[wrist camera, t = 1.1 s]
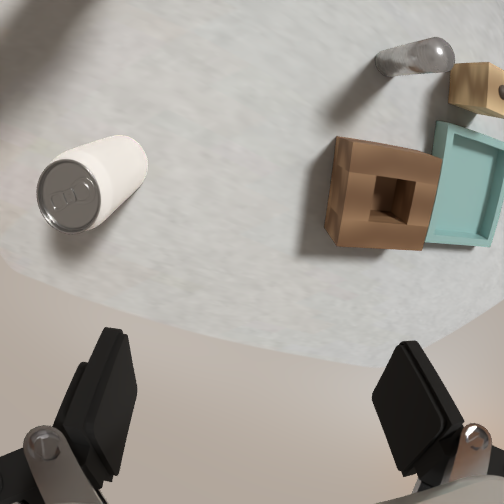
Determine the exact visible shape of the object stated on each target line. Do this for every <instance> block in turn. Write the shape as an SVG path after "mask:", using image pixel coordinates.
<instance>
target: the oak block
mask: <svg viewBox="0 0 504 504" xmlns="http://www.w3.org/2000/svg"><path fill="white" fill-rule="evenodd" d="M448 103H449V104H452V105H455V106H458V107H460V108H463V109H466V110H468V111H471V112H474V113H476V114H481V115H487V116H492V117H498V118H503V119H504V70H502V69H500V68H499V67H497V66H495V65H493V64H491V63H489V62H479V63H459V64H454V66H453V68H452V69H451V70H450V86H449V98H448Z"/></svg>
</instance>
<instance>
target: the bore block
mask: <svg viewBox="0 0 504 504" xmlns="http://www.w3.org/2000/svg"><path fill="white" fill-rule="evenodd" d="M441 165H442V159H441V158H438V157H435V156H432V155H429V154H427V153H424V152H421V151H418V150H413V149H408V148H403V147H398V146H393V145H388V144H382V143H377V142H371V141H365V140H359V139H352V138H346V137H338V136H336V145H335V153H334V161H333V169H332V176H331V184H330V191H329V198H328V205H327V211H326V218H325V224H324V228H325V229H326V231H327V232H328V234H329V235H330V237H331V238H332V240H333V241H334V243H335V244H336V246H340V247H360V248H379V249H398V250H417V251H422V248H423V245H424V241H425V237H426V233H427V229H428V226H429V222H430V217H431V213H432V209H433V205H434V200H435V196H436V191H437V186H438V181H439V176H440V170H441Z"/></svg>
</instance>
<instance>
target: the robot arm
mask: <svg viewBox="0 0 504 504" xmlns="http://www.w3.org/2000/svg"><path fill="white" fill-rule="evenodd" d="M136 396H137V384H136V379H135V374H134V368H133V363H132V357H131V352H130V346H129V340H128V335H127V334H123V331H122V330H121V329H115V328H108V327H105V328H104V329H103V331H102V333H101V335H100V338H99V340H98V342H97V344H96V346H95V349H94V351H93V353H92V355H91V357H90V359H89V362H88V363H87V362H81V363H80V364H79V366H78V368H77V370H76V372H75V374H74V377H73V379H72V381H71V383H70V386H69V388H68V390H67V392H66V395H65V397H64V399H63V402H62V404H61V406H60V409H59V411H58V414H57V416H56V419H55V421H54V424H53V426H52V427H51V426H45V425H43V426H38V427H35V428H33V429H31V430H30V431H29V433H27V435H26V437H25V438H24V443H23V448H21V449H18V450H16V451H14V452H11V453H9V454H6V455H4V456H1V457H0V504H109V503H108V502H107V500H106V499H105V497H104V496H103V494H102V492H101V491H100V489H101V488H102V486H103V481H109V482H112V479H113V475H115V476H117V475H118V474H119V470H120V466H121V461H122V456H123V452H124V447H125V442H126V438H127V434H128V430H129V425H130V421H131V417H132V412H133V409H134V405H135V401H136ZM372 401H373V404H374V407H375V409H376V412H377V414H378V417H379V420H380V422H381V425H382V428H383V430H384V433H385V435H386V438H387V441H388V444H389V447H390V449H391V452H392V455H393V458H394V460H395V463H396V466H397V468H398V470H399V471H401V472H402V475H403V477H406V476H410V475H413V474H416V473H417V475H418V480H417V482H416V484H415V487H414V489H413V491H412V494H411V495H407V496H404V497H400V498H396V499H393V500H388V501H384V502H380V503H376V504H504V450H501V449H499V448H497V447H494V446H493V445H492V438H491V435H490V433H489V432H488V430H487V429H486V428H485V427H483V426H481V425H479V424H476V423H470V424H468V425H466V426H465V427H463V425H462V424H463V423H464V419H463V417H462V416H461V414H460V412H459V410H458V408H457V407H456V405H455V403H454V401H453V400H452V398H451V396H450V394H449V393H448V391H447V389H446V387H445V386H444V384H443V382H442V381H441V379H440V377H439V376H438V374H437V372H436V371H435V369H434V367H433V366H432V364H431V363H430V361H429V359H428V357H427V356H426V354H425V353H424V351H423V349H422V348H421V346H420V345H419V343H418V342H417V341H402V342H401V343H400V344H399V345H398V346H396V348H395V350H394V352H393V354H392V356H391V358H390V360H389V362H388V364H387V366H386V368H385V370H384V372H383V374H382V376H381V378H380V380H379V382H378V384H377V386H376V388H375V389H374V391H373V393H372Z"/></svg>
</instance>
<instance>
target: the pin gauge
mask: <svg viewBox="0 0 504 504" xmlns="http://www.w3.org/2000/svg"><path fill="white" fill-rule="evenodd" d="M375 63H376V67H377V69H378V70H379V72H380V73H382V74H383V75H385V76H388V77H392V76H401V75H412V74H424V73H440V72H448V71H450V70H451V69H452V68H453V66H454V63H455V56H454V52H453V50H452V48H451V46H450V45H449V44H448V42H446V41H445V40H444V39H442V38H439V37H433V38H429V39H424V40H420V41H416V42H412V43H408V44H405V45H401V46H397V47H394V48H390V49H386V50H383V51H380V52H379V53H378V54H377V56H376V59H375Z"/></svg>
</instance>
